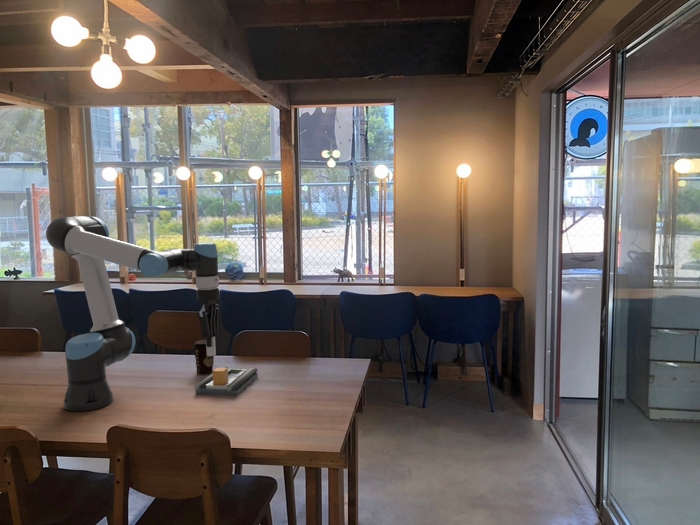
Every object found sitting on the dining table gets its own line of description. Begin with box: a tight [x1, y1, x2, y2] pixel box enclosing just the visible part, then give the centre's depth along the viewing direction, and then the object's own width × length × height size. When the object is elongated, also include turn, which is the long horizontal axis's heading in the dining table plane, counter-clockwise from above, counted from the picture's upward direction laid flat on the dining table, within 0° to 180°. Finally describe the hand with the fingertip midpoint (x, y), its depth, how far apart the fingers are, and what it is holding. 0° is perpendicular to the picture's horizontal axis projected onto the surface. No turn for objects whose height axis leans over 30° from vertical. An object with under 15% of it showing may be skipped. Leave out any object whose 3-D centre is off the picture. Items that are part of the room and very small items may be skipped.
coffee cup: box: [192, 339, 215, 376], centre depth 214 cm, size 9×8×13 cm
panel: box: [194, 368, 258, 397], centre depth 199 cm, size 20×16×3 cm
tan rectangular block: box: [213, 367, 229, 385], centre depth 193 cm, size 4×4×6 cm
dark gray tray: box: [194, 366, 258, 391], centre depth 199 cm, size 22×15×1 cm
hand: (211, 355), depth 185 cm, fingers closed
